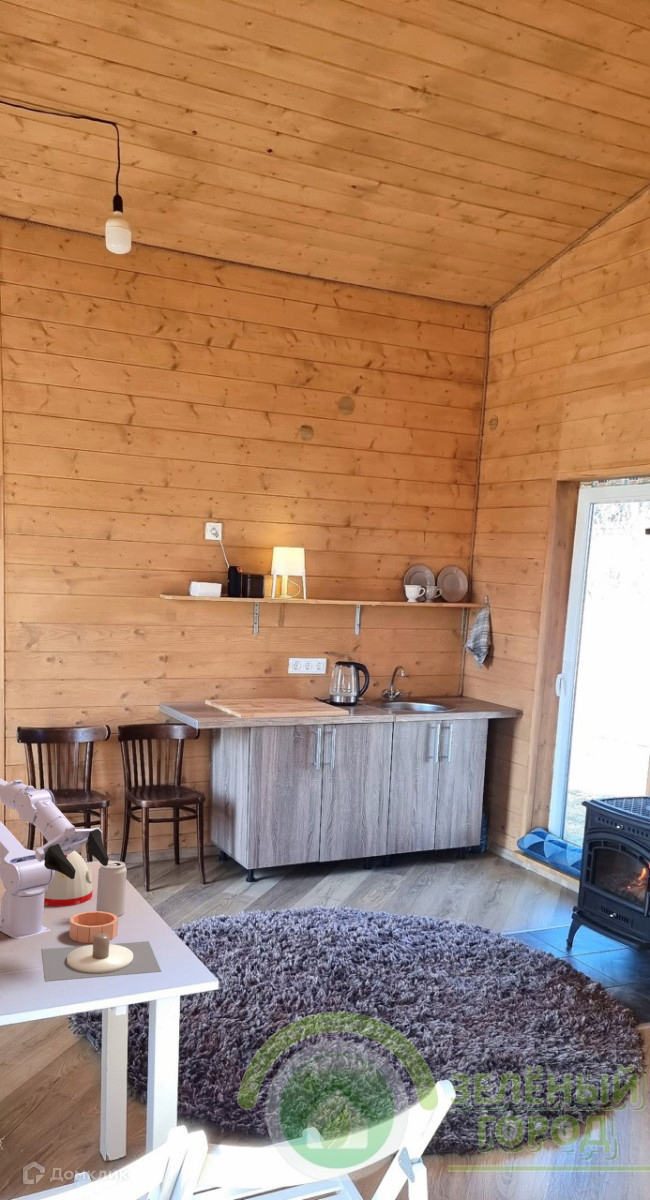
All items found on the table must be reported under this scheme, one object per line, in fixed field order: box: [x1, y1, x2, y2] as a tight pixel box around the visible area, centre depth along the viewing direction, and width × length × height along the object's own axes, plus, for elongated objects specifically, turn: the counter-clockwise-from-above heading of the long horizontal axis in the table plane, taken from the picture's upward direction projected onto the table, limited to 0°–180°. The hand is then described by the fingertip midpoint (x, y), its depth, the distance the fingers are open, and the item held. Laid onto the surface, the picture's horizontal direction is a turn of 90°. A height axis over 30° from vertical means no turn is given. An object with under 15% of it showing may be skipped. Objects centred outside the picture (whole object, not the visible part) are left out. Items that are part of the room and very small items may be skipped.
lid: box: [67, 933, 133, 973], centre depth 180 cm, size 13×13×5 cm
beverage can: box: [95, 860, 128, 918], centre depth 207 cm, size 6×6×12 cm
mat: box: [41, 941, 162, 982], centre depth 180 cm, size 16×22×1 cm
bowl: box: [68, 910, 119, 944], centre depth 193 cm, size 10×10×4 cm
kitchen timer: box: [44, 851, 93, 907], centre depth 218 cm, size 14×14×15 cm
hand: (90, 868), depth 180 cm, fingers open, 7 cm apart
